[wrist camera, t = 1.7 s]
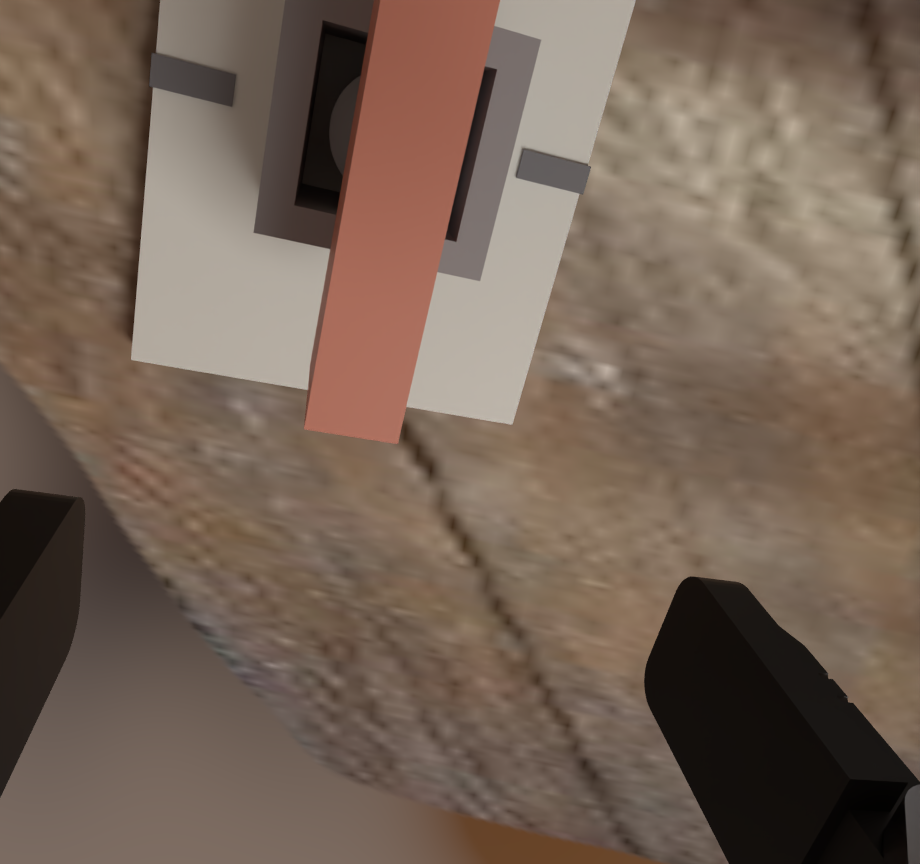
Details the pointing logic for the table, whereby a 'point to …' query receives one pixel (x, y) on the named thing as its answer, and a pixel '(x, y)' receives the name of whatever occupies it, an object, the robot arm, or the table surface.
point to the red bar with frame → (391, 184)
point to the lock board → (304, 266)
